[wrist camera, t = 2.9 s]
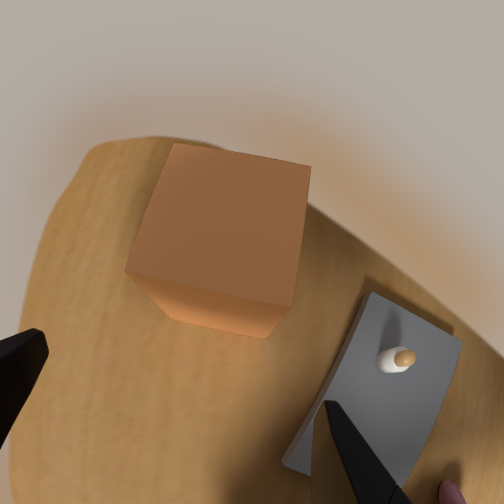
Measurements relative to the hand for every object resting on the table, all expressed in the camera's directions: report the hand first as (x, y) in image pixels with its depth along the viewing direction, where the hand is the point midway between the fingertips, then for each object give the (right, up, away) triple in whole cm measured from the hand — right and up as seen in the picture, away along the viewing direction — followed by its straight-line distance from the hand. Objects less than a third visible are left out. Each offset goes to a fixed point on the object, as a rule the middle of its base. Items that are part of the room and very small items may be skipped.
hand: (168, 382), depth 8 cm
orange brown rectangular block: (+1, +1, +13) cm, 13 cm away
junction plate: (+11, -7, +11) cm, 17 cm away
